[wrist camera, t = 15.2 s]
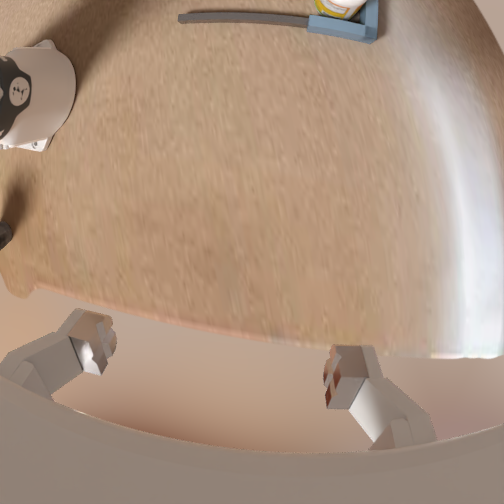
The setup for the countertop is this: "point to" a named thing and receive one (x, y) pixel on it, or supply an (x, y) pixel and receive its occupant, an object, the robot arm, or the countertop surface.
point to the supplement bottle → (338, 8)
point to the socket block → (349, 25)
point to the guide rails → (243, 18)
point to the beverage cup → (4, 234)
